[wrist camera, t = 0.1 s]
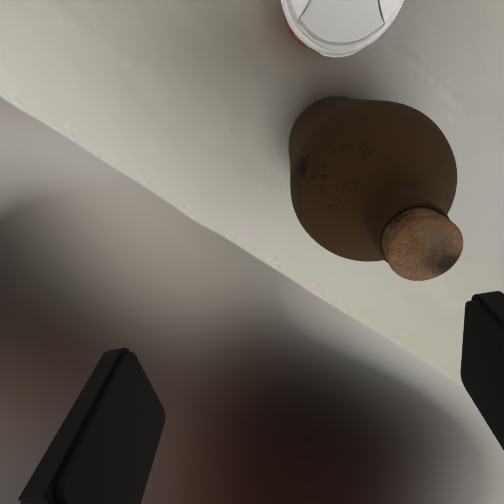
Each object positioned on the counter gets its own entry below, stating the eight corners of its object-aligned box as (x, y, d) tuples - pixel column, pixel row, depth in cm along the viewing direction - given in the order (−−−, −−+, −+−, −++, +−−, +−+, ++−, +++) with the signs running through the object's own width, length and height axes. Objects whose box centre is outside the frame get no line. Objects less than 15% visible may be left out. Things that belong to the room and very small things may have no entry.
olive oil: (291, 198, 40) (319, 355, 18) (274, 103, 35) (284, 156, 13) (384, 180, 38) (539, 327, 16) (380, 78, 34) (590, 91, 12)
